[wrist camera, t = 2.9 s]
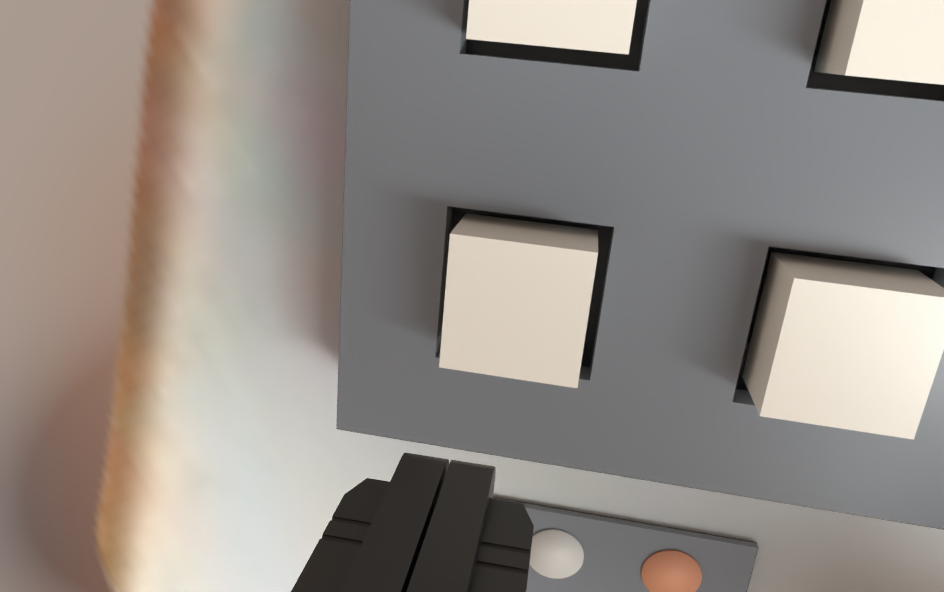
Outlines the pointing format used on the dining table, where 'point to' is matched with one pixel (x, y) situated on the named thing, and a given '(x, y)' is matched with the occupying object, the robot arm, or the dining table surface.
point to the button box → (635, 237)
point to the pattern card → (630, 556)
